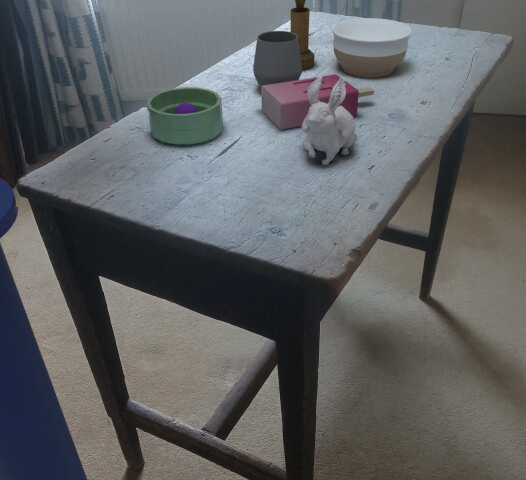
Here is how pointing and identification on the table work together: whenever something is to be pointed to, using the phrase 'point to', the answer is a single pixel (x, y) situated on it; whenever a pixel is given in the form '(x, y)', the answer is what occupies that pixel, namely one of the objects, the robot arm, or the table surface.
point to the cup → (277, 58)
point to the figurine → (328, 122)
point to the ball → (185, 109)
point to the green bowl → (185, 115)
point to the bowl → (370, 45)
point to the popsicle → (304, 99)
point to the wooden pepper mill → (302, 33)
